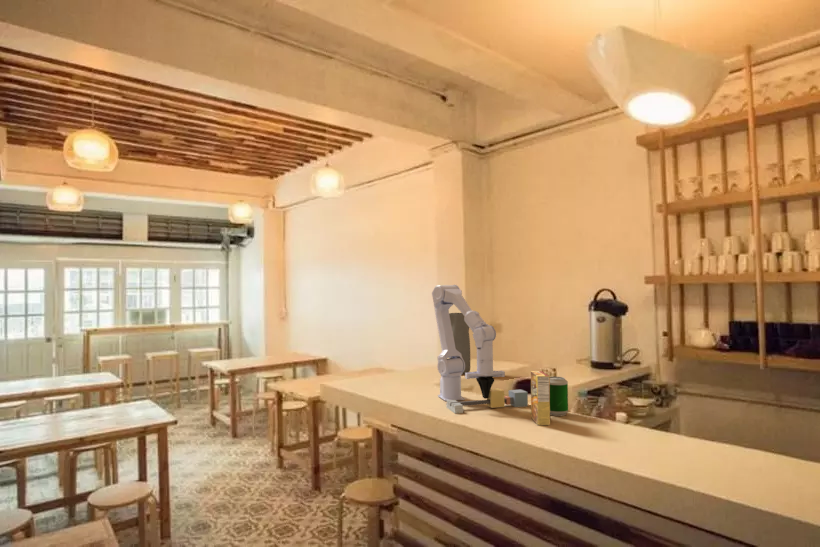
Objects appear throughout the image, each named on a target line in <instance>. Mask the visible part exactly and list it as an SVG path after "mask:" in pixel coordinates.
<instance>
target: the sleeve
mask: <svg viewBox="0 0 820 547" xmlns="http://www.w3.org/2000/svg"><path fill="white" fill-rule="evenodd" d="M504 396H505V390H504V389H501V388H491V389H490V392H489V397H488V398H487V399H486V400H490V404H486V406H487V407H490V408H491V409H493V408H504V407H505V404H504Z"/></svg>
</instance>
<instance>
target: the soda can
mask: <svg viewBox="0 0 820 547" xmlns="http://www.w3.org/2000/svg"><path fill="white" fill-rule="evenodd" d="M568 383H569V382H568V380H566V377H563V376H550V416H553V417H554V416H555V417H564V416H566V415H567V414H568V413H569V392H568V391H569V390H568V389H569V387H568V386H569V385H568Z"/></svg>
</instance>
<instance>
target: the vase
mask: <svg viewBox="0 0 820 547" xmlns="http://www.w3.org/2000/svg"><path fill="white" fill-rule="evenodd" d="M449 316H450V321H451V326H452V332H453V337H454V342H455V348H456V350H457V351H459V352H460V353H461V355H462V358H463V360H464V362H465V370H464V372H462V375H465V373H469V372H471V341H470V340H471V339H470V328H469V326H468V325H467V324H466V322H465V321H464V317H465V316H464V315H463V314H462V313H461V312H449ZM450 358H451V357H450ZM450 358H449V359H450Z"/></svg>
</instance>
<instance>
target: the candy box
mask: <svg viewBox="0 0 820 547" xmlns="http://www.w3.org/2000/svg"><path fill="white" fill-rule="evenodd" d="M550 377H551V376H550V375H549V374H547V373H546V372H544V371H542V370H540V371H539V370H531V371H530V416H531V417H530V418H531V419H532V420H533V422H535V424H536V425H537V426H551V415H550Z"/></svg>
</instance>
